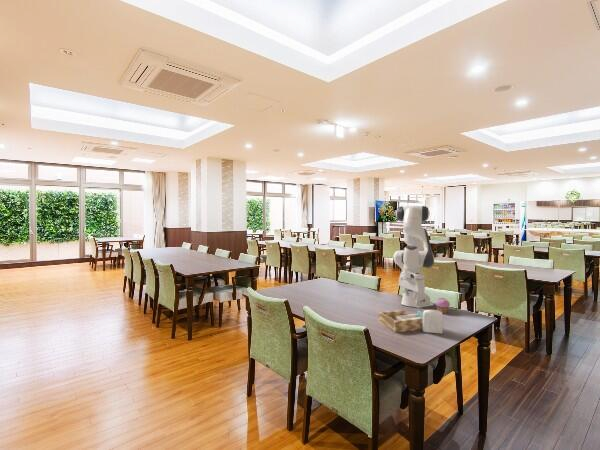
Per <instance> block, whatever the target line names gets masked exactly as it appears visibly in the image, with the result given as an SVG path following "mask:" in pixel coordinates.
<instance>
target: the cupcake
mask: <svg viewBox="0 0 600 450" xmlns="http://www.w3.org/2000/svg"><path fill="white" fill-rule="evenodd" d="M434 302H435V303H434V305H436V310H438V311H440V312H442V314H447V313H448V310H449V307H451V303H450V300H448V299H446V298H444V297H439V298H437V299H436V300H435V301H434Z"/></svg>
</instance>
